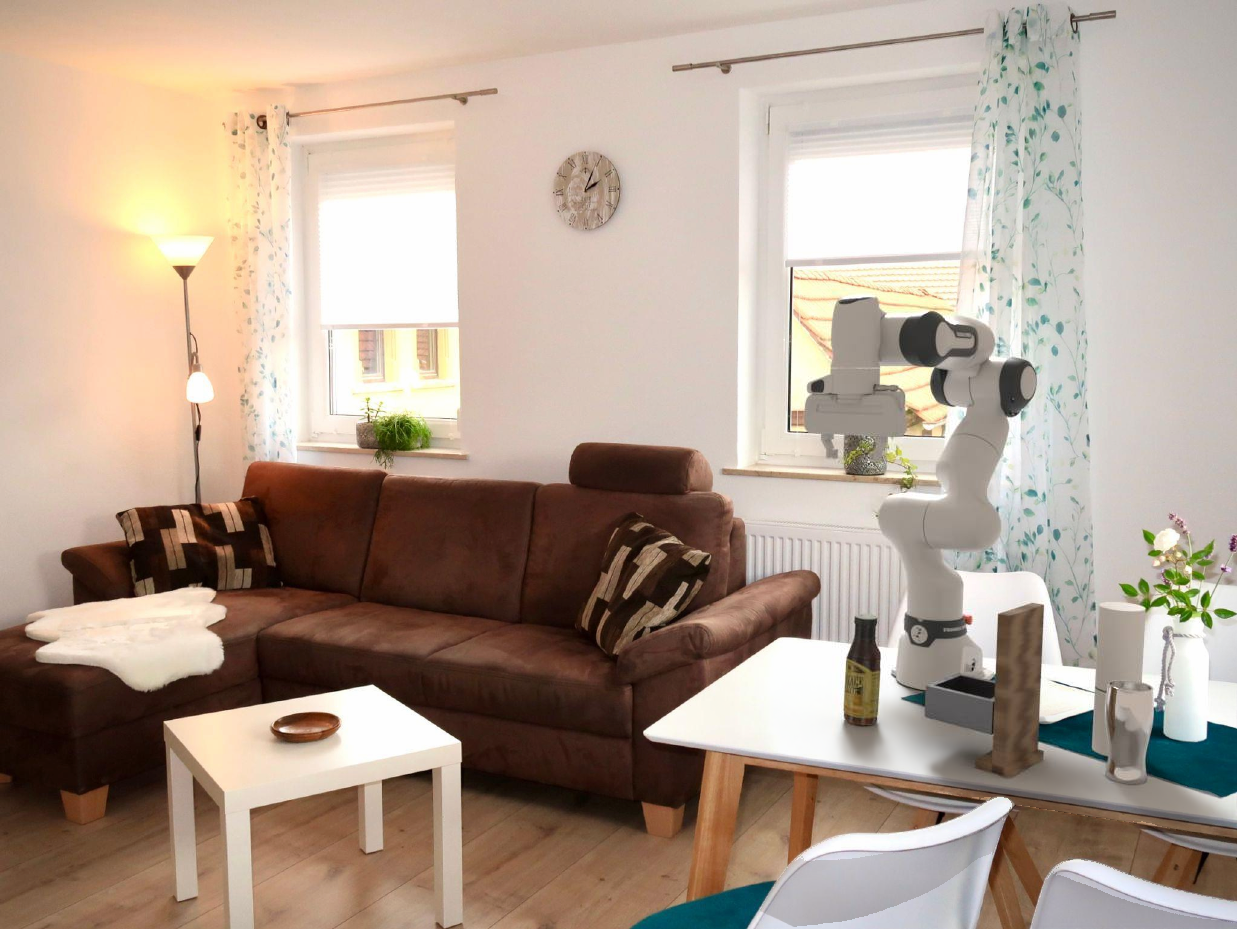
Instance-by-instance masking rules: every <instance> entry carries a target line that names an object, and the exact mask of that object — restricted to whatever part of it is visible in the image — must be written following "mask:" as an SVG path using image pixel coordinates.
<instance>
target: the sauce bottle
mask: <svg viewBox="0 0 1237 929" xmlns="http://www.w3.org/2000/svg"><path fill="white" fill-rule="evenodd" d="M853 619H854V621H853V622H854V636H853V637H854V638H852V639H853V640H852V642H851V646H850V647H849V651H848V653H847V654H846V659H845V675H844V676H845V677H844V691H843V692H844V693H843V718H844V720H845V721H846V722H847V723H849V724H853V725H856V726H860V727H861V726H872V725H874V724H876V723H877V721H878V715H879V703H880V701H879V700H880V689H881V688H880V687H881V686H880V685H881V659H882V657H881V651H880V649H879V647H878V644H877V643H876V642H877V641H876V638H877V637H876V632H877V629H876V628H877V625H878V616H876V615H874V614H871V613H870V614H869V613H858V614H855V616H854V618H853Z"/></svg>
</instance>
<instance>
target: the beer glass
mask: <svg viewBox="0 0 1237 929" xmlns="http://www.w3.org/2000/svg"><path fill="white" fill-rule="evenodd" d="M1154 700H1155V699H1154V687H1153V686H1152V685H1150V684H1148V683H1145V682H1143V681H1142V682H1138V681H1132V680H1112V681H1109V682H1108V687H1107V693H1106V701H1105V724H1106V732H1107V739H1108V747H1109V754H1108V756H1107V757H1108V758H1107V763H1106V765H1105V770H1104V775H1105V776H1106V779H1109V780H1111V781H1114V782H1116V783H1120V784H1125V785H1133V786H1134V785H1137V786H1138V785H1144V784H1145V783H1147V781H1148V774H1147V768H1146V767H1147V766H1146V754H1147V749H1148V745H1149V742H1150V737H1151V733H1152V730H1153V729H1152V728H1153V725H1154V713H1155V712H1154V710H1155V709H1154V707H1155V705H1154V702H1155V701H1154Z"/></svg>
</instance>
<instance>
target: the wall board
mask: <svg viewBox="0 0 1237 929" xmlns="http://www.w3.org/2000/svg"><path fill="white" fill-rule="evenodd" d="M1044 614H1045V604H1043V603H1036V602H1030V603H1028V604H1024V605H1022V606H1021V605H1020V606H1018V607H1015V608H1013V609H1009V610H1004V611H1002V612H1000V613H997V625H996V626H997V627H996V649H995V650H996V652H995V654H996V655H995V656H996V657H995V673H994V679H995V680H994V681H995V700H994V725H993V735H992V750H990V751H988V752H985V753H984V754H981V755H979V756H978V757H976V758H974V762H973V763H974V764H973V768H974V769H977V770H980V771H983V772H987V773H990V774H994V775H998V776H1000V777H1004V778H1008V779H1010V778H1013V777H1014V776H1016V775H1018V774H1019V773H1021V772H1024V771H1025V770H1028V769H1029V768H1031V767H1032V766H1035V765H1037V764H1038V763H1040V762H1041V761H1044V757H1045V756H1044V754H1045V751H1044V750H1042V749H1039V729H1040V711H1041V710H1040V709H1041V708H1040V706H1041V689H1042V687H1041V686H1042V663H1043V662H1042V660H1043V638H1044V637H1043V636H1044V619H1045V618H1044Z"/></svg>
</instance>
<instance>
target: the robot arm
mask: <svg viewBox="0 0 1237 929" xmlns="http://www.w3.org/2000/svg"><path fill="white" fill-rule="evenodd" d="M830 329H831V330H830V346H831V350H832V360H831V364H830V368H829V369H830V373H829V374H827V375H824V376H822V377H819V378H816V379H813V380H811V381H809V382H807V384H806V392H807V393H808V394H809V395H808V396H807V397H806V399H805V404H804V412H803V427H804V429H805V431H806V432H807V433H809V434H820V441H821V443H822V444H823V446H824V449H825V458H826V459H830V460H831V459H832V460H836V459H838V458H839V454H838V453H839V449H838V448H835V446H834V444H833V441H832V440H834V438H835V435H842V436H858V437H859V436H863V437H874V443H876V446H875V448H874V450H873V451H869V457H868V459H869V462H870V463H871V462H872V463H881V462H882V458H883V452H884V450H885V449H886V446H887V445H888V444H889V443H888V442H889V438H901V437H904V436H905V434H906V432H907V429H908V427H907V426H908V424H907V423H908V422H907V412H906V406H905V405H906V393H905V391H904V389H902V388H900V387H899V385H897V384H890V385H887V384H881V383H880V382H881V367H922V368H933V369H932V371H931V375H930V381H929V386H930V391H931V395H932V396H933V398H934V399H935V401H936V403H938V404H940V405H942V406H948V407H951V408H955V407H959V408H966V412H965V413H966V414H965V416H964V417H963V418H962V419H961V421H960V422H959V423H958V425H957V426H956V428H955V429H954V430H953V432H952V434H951V436H950V438H948V441H947V443H946V445H945V447H944V448H943V451H942V452H941V455H940V457H939V459H938V460H937V462H936V464H935V476H936V479H937V481H938V483H939V484H940V485H941V487H943V489H944V490H946V492H944V493H943V494H932V493H931V494H930V493H921V492H913V491H909V492H900V493H894V494H890V495H888V496H887V497H885V499H884V500H883V501H882V503H881V505H880V507H879V509H878V515H877V522H878V527H879V530H880V532H881V534H882V535H883V536H884V537H885V538H886V539H887V540H888V541H889V542H890V543H891V544H892V545H893V547H894V549H896V553H898V555H899V558H900V560H901V562H902V565H903V568H904V573H905V579H906V611H905V612H904V617H903V630H904V633H903V634H902V635H900V636H899V639H898V647H897V655H896V665H895V667H892V668H891V670H890V671H891V672H890V673H891V675H893V676H894V677H895V678H896V681H897V682H898V683H900V684H901V685H904V686H906V687H909V688H913V689H916V690H917V689H918V690H922V691H926V685H928V684H931V683H934V682H936V681H939V680H941V679H944V678H947V677H949V676H952V675H955V674H957V673H961V674H965V675H970V676H974V677H979V678H983V679H987V680H992V679H993V678H995V672H994V671H993V670H992V669H989V668H987V667H983V659H984V658H983V650H982V648H981V646H980V645H979V644H977V643H976V642H975V641H974V640H973V639H972V638H971V637H970V636H969V635H968V634H967V633H968V629H967V626H971V625H972V624H973V622H974V621H973V620H974V619H973V616H972V614H971V615H970V614H964V613H963V611H964V610H963V609H964V589H965V588H964V581H963V578H962V576H961V575H960V573H959V572H958V571H957V570H955V568H953V567H952V566H950V565H949V564H948V563H947V561H946V559H945V558H944V556H943V554H942V550H943V551H949V552H950V551H951V552H957V553H977V552H987V551H989V550H991V549H992V548H993V547H994V546H995V544H996V543H997V542H998V540H999V537H1000V534H1001V532H1002V521H1001V516H1000V514H999V512H998V510H997V509H996V508H995V506H994V505H993V504H992V503H991V502H990V500H989V498H988V487H989V485H990V483H991V479H992V477H993V475H994V472H995V470H996V468H997V466H998V464H999V462H1000V460H1001V457H1002V455H1003V453H1004V450H1005V447H1006V444H1007V440H1008V436H1009V430H1010V423H1009V420H1008V418H1014V417H1017V416H1018V415H1019V414H1021V412H1022V410H1023V409H1025V407H1027V405H1028V404H1029V403H1030V402H1031V401H1032V399H1033V398H1034V396H1035V393H1036V391H1037V386H1038V381H1037V380H1038V379H1037V378H1038V377H1037V372H1036V370H1035V367H1034V366H1033V364H1032V363H1031V362H1030V361H1029V360H1026V359H1023V358H1020V357H1016V356H1010V357H1004V356H993V355H992V354H993V353H994V350H995V346H996V340H995V335H994V332H993V330H992V329H991V328H990V327H989V326H988V325H987V324H986V323H984V322H982V321H980V320H978V319H975V318H972V317H968V316H964V315H955V314H954V315H942V314H940V313H939V312H937V311H935V310H928V311H922V312H921V311H920V312H916V313H915V312H913V313H890V314H888V313H887V312H885V311H884V310H883V309H881V307H880V303H879V299H878V296H877V295H874V294H870V293H869V294H868V293H867V294H865V293H863V294H856V295H847V296H843V297H840V299H838V300H837V301H836V302H835V304H834V308H833V313H832V318H831V328H830Z"/></svg>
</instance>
